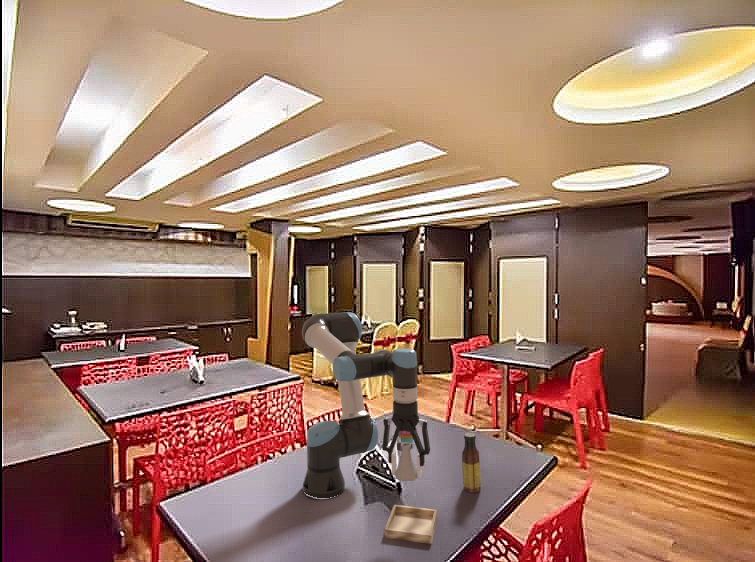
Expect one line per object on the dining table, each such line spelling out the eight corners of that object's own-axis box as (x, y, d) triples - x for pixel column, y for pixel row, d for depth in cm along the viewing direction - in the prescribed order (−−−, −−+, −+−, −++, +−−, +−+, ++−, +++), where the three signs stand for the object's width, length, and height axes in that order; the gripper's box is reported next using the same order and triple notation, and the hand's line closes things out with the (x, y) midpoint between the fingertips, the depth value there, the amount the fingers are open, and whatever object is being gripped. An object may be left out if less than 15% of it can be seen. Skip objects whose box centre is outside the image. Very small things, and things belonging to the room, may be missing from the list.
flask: (416, 483, 129) (415, 449, 129) (392, 481, 131) (391, 447, 131) (419, 472, 136) (419, 440, 136) (397, 470, 138) (396, 439, 138)
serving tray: (384, 537, 129) (384, 529, 129) (394, 512, 143) (394, 504, 143) (431, 544, 126) (431, 535, 126) (437, 517, 140) (437, 509, 140)
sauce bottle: (478, 484, 161) (477, 431, 160) (482, 493, 155) (482, 437, 154) (460, 485, 161) (460, 431, 160) (464, 493, 154) (464, 437, 154)
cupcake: (395, 441, 203) (395, 415, 202) (412, 438, 205) (412, 413, 205) (401, 448, 194) (401, 421, 194) (419, 445, 197) (419, 419, 197)
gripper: (370, 401, 133) (371, 476, 133) (436, 405, 127) (437, 483, 127) (376, 395, 140) (378, 466, 140) (439, 398, 134) (441, 472, 135)
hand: (406, 474), depth 134 cm, fingers closed on flask, 7 cm apart
